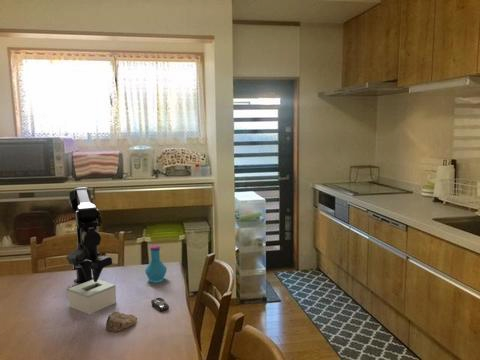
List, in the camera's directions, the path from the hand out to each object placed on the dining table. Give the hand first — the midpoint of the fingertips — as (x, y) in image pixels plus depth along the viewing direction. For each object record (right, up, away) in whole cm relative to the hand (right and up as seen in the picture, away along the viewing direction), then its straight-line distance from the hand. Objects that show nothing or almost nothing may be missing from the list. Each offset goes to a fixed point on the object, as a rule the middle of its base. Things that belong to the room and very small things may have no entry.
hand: (91, 280), depth 150 cm
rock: (+16, -12, -15) cm, 25 cm away
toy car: (+25, -10, 0) cm, 27 cm away
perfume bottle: (+19, -6, +26) cm, 33 cm away
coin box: (0, -9, +1) cm, 10 cm away
